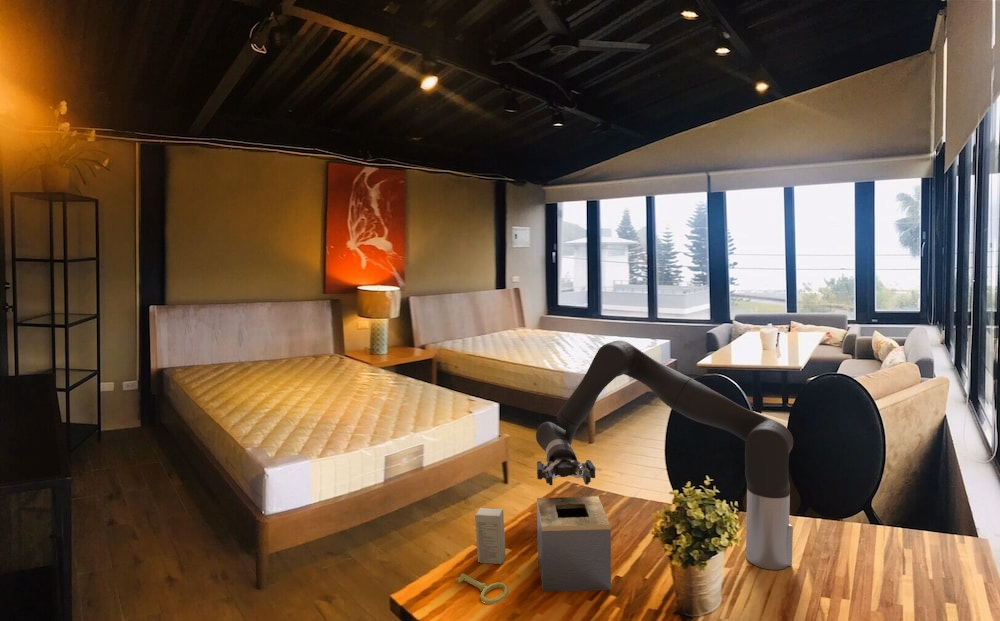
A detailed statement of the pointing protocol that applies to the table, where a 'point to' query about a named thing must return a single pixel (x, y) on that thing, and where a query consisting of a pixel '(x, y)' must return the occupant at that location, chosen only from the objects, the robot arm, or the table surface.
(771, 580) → the table surface
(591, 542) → the grey tissue box
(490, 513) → the skincare box
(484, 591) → the key
